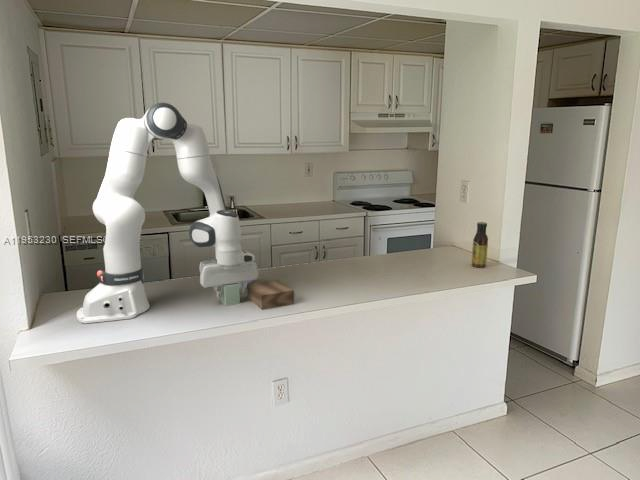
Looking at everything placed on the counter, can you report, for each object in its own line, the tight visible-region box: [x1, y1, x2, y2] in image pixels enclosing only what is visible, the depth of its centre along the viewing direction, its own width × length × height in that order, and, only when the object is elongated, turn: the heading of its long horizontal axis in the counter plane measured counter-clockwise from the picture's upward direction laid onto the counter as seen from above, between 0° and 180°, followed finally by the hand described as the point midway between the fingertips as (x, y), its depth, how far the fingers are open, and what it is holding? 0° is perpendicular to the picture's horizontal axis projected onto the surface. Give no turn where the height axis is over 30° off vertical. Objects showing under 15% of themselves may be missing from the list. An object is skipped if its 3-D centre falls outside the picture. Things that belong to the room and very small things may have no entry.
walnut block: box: [246, 278, 295, 310], centre depth 169 cm, size 12×14×5 cm
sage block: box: [220, 283, 241, 306], centre depth 167 cm, size 5×5×7 cm
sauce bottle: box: [471, 221, 489, 269], centre depth 210 cm, size 6×6×20 cm
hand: (230, 295), depth 167 cm, fingers open, 7 cm apart
